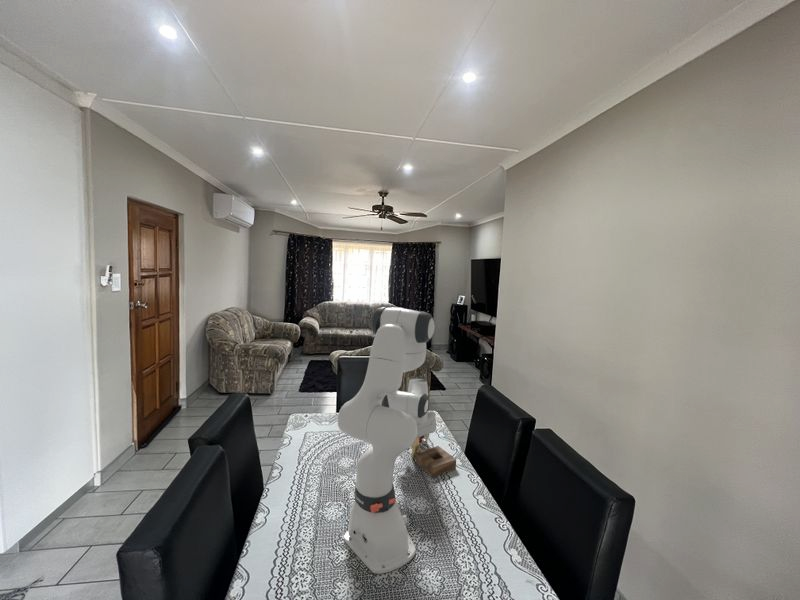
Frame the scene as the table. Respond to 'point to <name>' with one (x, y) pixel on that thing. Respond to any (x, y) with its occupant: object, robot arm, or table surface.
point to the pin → (415, 447)
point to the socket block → (435, 461)
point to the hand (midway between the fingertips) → (415, 446)
